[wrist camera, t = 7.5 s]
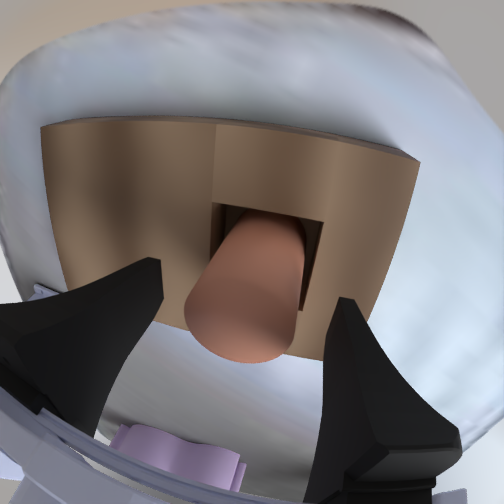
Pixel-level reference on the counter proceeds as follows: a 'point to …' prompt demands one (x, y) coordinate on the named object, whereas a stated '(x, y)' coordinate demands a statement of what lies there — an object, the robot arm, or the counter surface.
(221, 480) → the clip
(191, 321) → the pin
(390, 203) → the board
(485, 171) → the counter surface
